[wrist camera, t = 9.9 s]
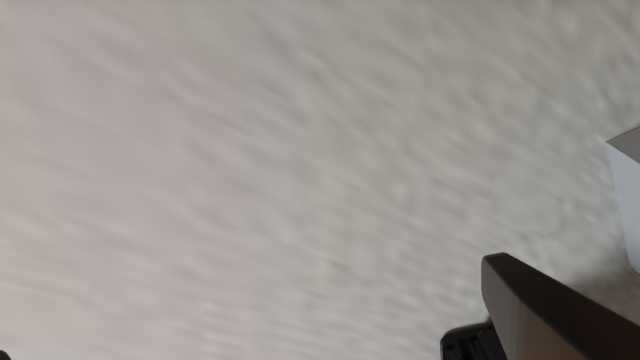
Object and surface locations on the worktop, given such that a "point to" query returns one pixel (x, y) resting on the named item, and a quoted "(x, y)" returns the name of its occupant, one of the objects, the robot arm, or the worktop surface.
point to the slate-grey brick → (627, 188)
